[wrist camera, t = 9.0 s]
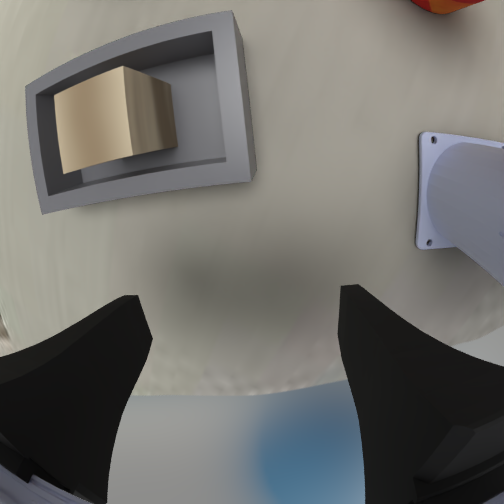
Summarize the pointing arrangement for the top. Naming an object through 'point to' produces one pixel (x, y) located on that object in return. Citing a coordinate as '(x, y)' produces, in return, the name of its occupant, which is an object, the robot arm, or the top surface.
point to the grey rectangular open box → (184, 105)
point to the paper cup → (444, 5)
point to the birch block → (113, 118)
